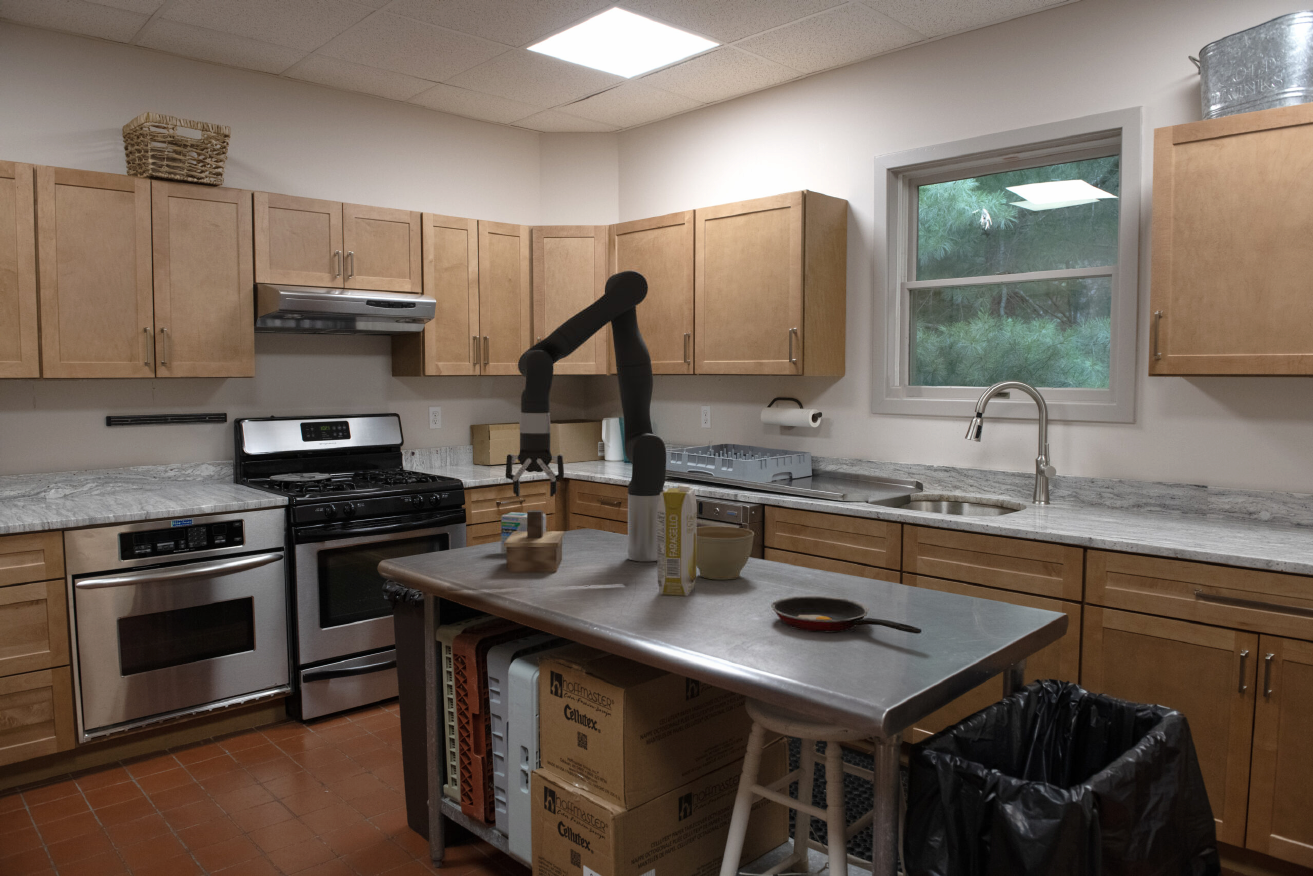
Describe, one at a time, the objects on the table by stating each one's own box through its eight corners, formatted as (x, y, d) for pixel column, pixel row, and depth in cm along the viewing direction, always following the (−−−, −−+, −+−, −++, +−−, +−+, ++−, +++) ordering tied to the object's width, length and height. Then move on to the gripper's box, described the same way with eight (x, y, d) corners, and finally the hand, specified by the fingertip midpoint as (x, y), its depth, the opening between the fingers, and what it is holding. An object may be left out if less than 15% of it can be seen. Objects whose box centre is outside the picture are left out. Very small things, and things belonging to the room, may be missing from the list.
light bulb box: (500, 554, 239) (500, 515, 239) (511, 550, 246) (511, 511, 245) (536, 557, 236) (536, 517, 236) (546, 552, 243) (546, 513, 242)
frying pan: (813, 605, 186) (813, 588, 186) (949, 640, 162) (949, 620, 162) (750, 621, 174) (750, 602, 174) (887, 660, 150) (887, 639, 150)
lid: (564, 538, 229) (564, 506, 229) (558, 550, 213) (558, 515, 213) (513, 538, 229) (513, 506, 229) (504, 550, 213) (503, 515, 213)
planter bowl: (678, 580, 209) (678, 535, 208) (697, 567, 224) (697, 524, 223) (744, 586, 204) (745, 539, 203) (759, 572, 219) (760, 528, 218)
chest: (562, 562, 229) (562, 535, 229) (556, 575, 214) (556, 546, 214) (515, 562, 229) (515, 535, 229) (506, 575, 214) (506, 546, 214)
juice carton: (691, 597, 192) (691, 487, 191) (655, 595, 194) (655, 486, 192) (697, 588, 201) (698, 483, 200) (663, 586, 203) (663, 482, 202)
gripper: (565, 430, 223) (564, 494, 224) (508, 430, 223) (508, 494, 224) (562, 432, 216) (562, 498, 217) (504, 431, 216) (503, 497, 217)
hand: (534, 496), depth 220 cm, fingers open, 8 cm apart
